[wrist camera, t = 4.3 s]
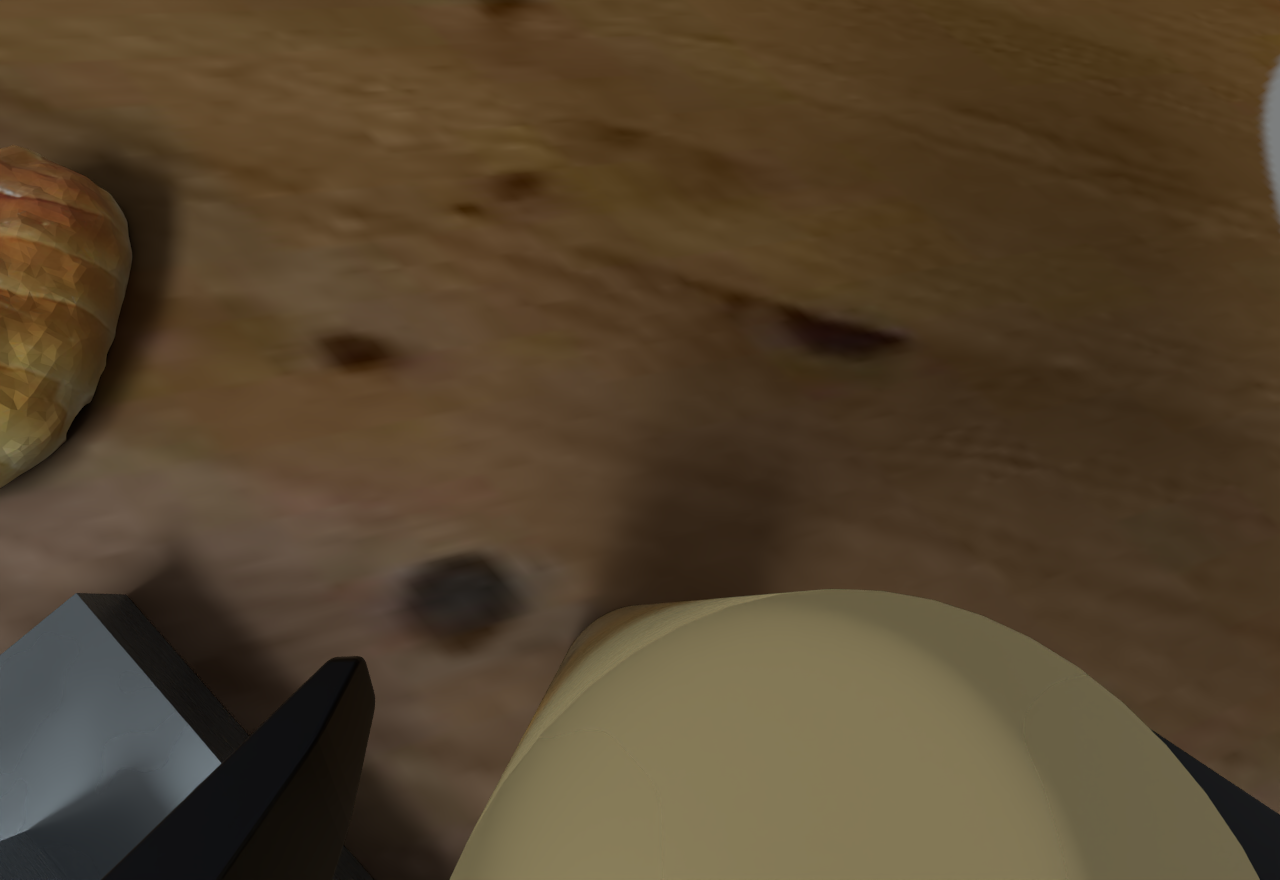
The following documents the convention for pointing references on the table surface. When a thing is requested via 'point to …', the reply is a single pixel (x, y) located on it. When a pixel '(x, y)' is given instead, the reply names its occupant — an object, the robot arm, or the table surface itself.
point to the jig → (101, 741)
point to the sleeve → (837, 755)
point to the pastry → (53, 301)
